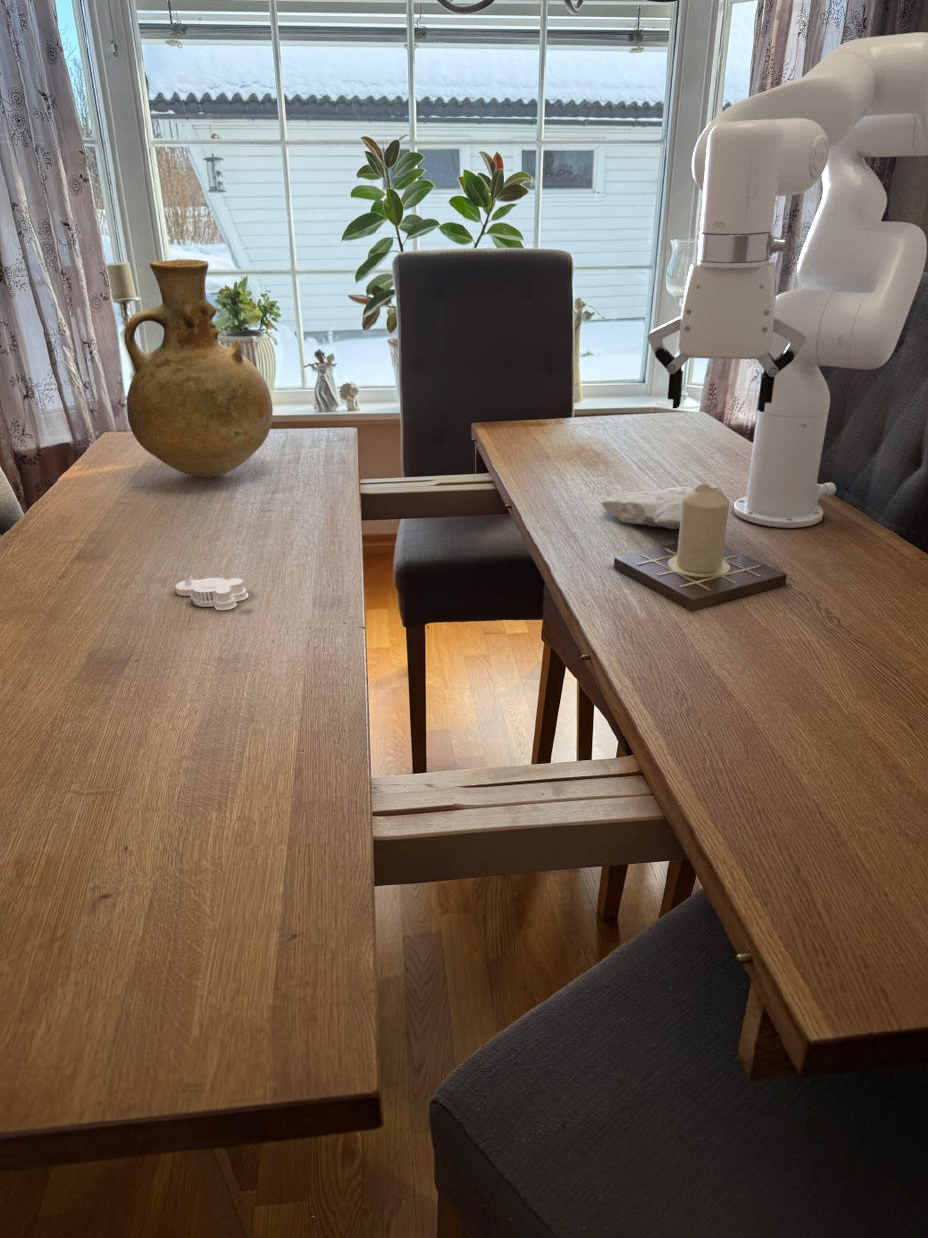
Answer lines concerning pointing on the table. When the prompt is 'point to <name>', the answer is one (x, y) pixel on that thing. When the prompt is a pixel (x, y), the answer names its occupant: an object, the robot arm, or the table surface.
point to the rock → (648, 507)
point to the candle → (702, 529)
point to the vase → (194, 382)
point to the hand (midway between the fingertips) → (718, 407)
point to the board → (699, 576)
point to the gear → (213, 591)
